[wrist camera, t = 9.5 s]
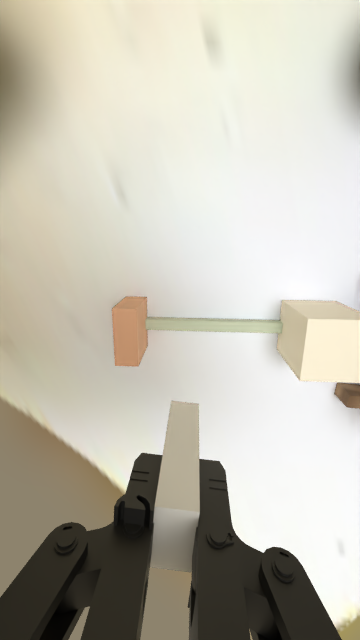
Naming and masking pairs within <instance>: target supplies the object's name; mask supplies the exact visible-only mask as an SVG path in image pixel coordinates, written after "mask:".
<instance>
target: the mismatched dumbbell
mask: <svg viewBox="0 0 360 640" xmlns="http://www.w3.org/2000/svg"><path fill="white" fill-rule="evenodd" d="M112 318H113V336H114V355H115V366H139V364H140V362H141V359H142V357H143V355H144V353H145V350H146V348H147V346H148V340H147V330H175V331H213V332H250V333H278V342H277V350H278V352H279V353H280V354H281V356H282V357H283V359H284V360H285V361H286V363H287V364H288V365H289V367H290V368H291V370H292V371H293V372H294V374H295V375H296V376H297V378H298V379H299V381H316V382H346V383H360V312H359V311H357V310H355V309H352V308H350V307H348V306H346V305H344V304H341V303H339V302H337V301H308V300H282V305H281V314H280V320H250V319H209V318H168V317H147V297H125V298H124V299H123V300H122V301H120V302H119V303H118V304H117V305H116V306H115V307H113V308H112Z"/></svg>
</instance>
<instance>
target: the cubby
mask: <svg viewBox="0 0 360 640" xmlns="http://www.w3.org/2000/svg"><path fill="white" fill-rule="evenodd" d="M335 395H336V396H337V397H338V398H339V399H340V400H341V401H342V403H343V404H344V405H345V406H346V407H349V408H360V385H357V384H346V383H337V386H336V390H335Z"/></svg>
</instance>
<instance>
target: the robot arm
mask: <svg viewBox="0 0 360 640" xmlns="http://www.w3.org/2000/svg"><path fill="white" fill-rule="evenodd" d="M150 567H153V568H161V569H168V570H176V571H184V572H191V571H192V581H191V588H190V596H189V602H188V608H190V614H189V640H250V633H249V628H250V632H251V635H252V639H253V640H342V639H341V638H340V636H339V634H338V632H337V630H336V628H335V626H334V624H333V622H332V621H331V619H330V617H329V615H328V613H327V611H326V609H325V607H324V606H323V604H322V602H321V600H320V598H319V596H318V594H317V592H316V591H315V589H314V587H313V585H312V583H311V581H310V579H309V577H308V576H307V574H306V572H305V570H304V568H303V566H302V565H301V563H300V562H299V561H298V559H297V558H296V557H295V556H294V555H293V554H291V553H290V552H289V551H287V550H285V549H283V548H279V547H272V548H269V549H266V551H265V552H264V553H262V552H260V551H258V550H256V549H254V548H252V547H250V546H248V545H246V544H245V543H244V542H243V541H241V540H240V539H239V537H238V536H237V535H236V533H235V531H234V529H233V527H232V522H231V514H230V506H229V498H228V491H227V483H226V473H225V470H224V468H223V466H222V465H221V463H220V461H212V460H204V459H199V404H196V403H187V402H178V401H171V406H170V413H169V419H168V425H167V431H166V438H165V444H164V450H163V455H155V454H147V453H141V454H140V456H139V457H138V458H137V459H136V460H135V462H134V466H133V469H132V473H131V476H130V480H129V483H128V487H127V491H126V494H125V495H123V496H122V497H121V498H119V499H118V500H117V503H116V504H115V506H114V522H112V523H111V524H109V525H108V526H106V527H103V528H100V529H96V530H91V531H86V529H85V527H83V526H82V525H81V524H79V523H73V522H71V523H65V524H62V525H61V526H59V527H57V528H55V529H54V530H53V531H52V532H51V533H50V534H49V535H48V537H47V538H46V539H45V540H44V542H43V543H42V544H41V546H40V547H39V548H38V550H37V551H36V552H35V553H34V555H33V556H32V557H31V559H30V560H29V561H28V562H27V564H26V565H25V566H24V567H23V569H22V570H21V571H20V573H19V574H18V575H17V577H16V578H15V579H14V580H13V582H12V583H11V584H10V586H9V587H8V588H7V590H6V591H5V592H4V594H3V595H2V596H1V597H0V640H68V639H69V637H70V635H71V633H72V631H73V630H74V627H75V626H76V623H77V622H78V620H79V617H80V616H81V614H82V612H83V610H84V608H85V607H88V606H90V609H89V612H88V616H87V619H86V623H85V626H84V630H83V633H82V636H81V640H140V637H141V629H142V622H143V614H144V608H145V601H146V594H147V587H148V576H149V568H150Z"/></svg>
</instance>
